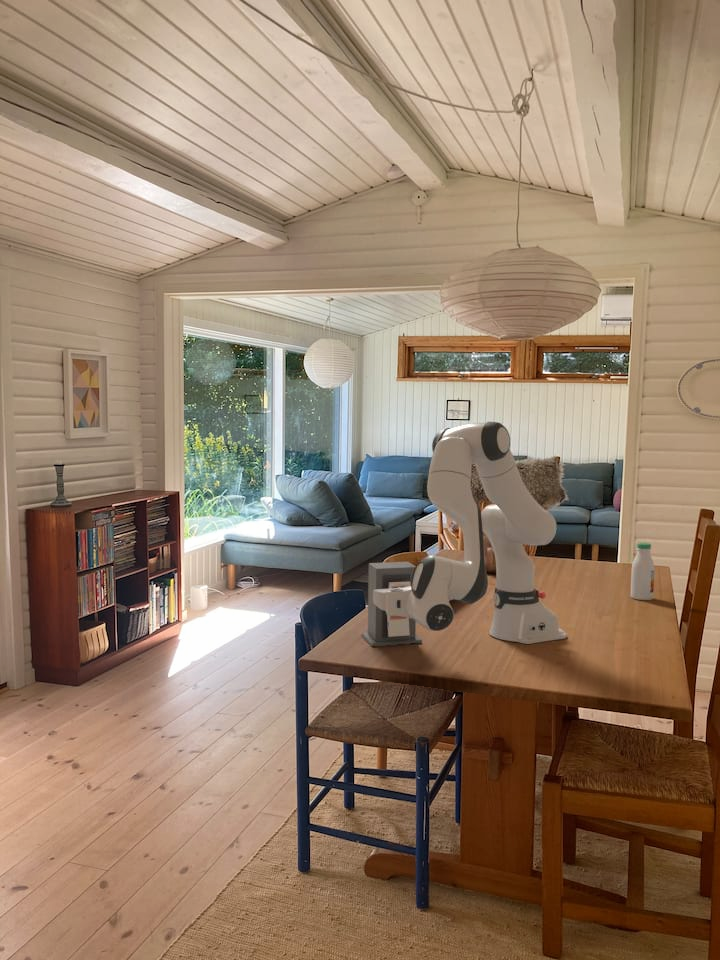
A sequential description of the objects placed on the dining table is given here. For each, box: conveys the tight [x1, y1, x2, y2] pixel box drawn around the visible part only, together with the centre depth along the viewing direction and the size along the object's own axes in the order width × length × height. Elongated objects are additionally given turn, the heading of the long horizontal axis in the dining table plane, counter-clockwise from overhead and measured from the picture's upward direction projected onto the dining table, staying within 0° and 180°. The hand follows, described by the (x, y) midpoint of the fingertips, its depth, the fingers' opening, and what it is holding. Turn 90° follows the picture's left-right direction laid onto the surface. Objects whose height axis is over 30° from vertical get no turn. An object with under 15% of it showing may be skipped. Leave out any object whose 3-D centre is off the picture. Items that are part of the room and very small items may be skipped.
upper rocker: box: [388, 581, 411, 589], centre depth 219 cm, size 6×1×7 cm, turn 105°
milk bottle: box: [630, 542, 655, 601], centre depth 279 cm, size 8×8×20 cm
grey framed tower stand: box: [361, 561, 423, 647], centre depth 225 cm, size 15×11×22 cm
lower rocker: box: [387, 615, 410, 637], centre depth 220 cm, size 6×1×7 cm, turn 105°
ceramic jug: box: [483, 535, 496, 574], centre depth 322 cm, size 18×14×14 cm
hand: (402, 589), depth 216 cm, fingers closed
